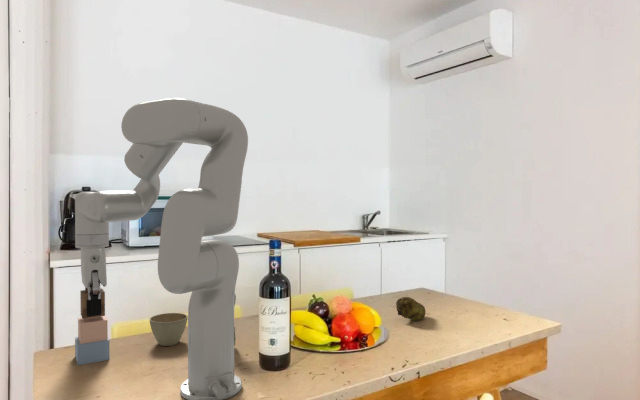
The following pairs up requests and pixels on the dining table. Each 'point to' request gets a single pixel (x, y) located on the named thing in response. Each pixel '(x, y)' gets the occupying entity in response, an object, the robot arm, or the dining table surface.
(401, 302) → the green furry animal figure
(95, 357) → the tower base
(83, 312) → the walnut block
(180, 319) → the olive grey bowl
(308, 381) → the dining table surface
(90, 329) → the tower top
